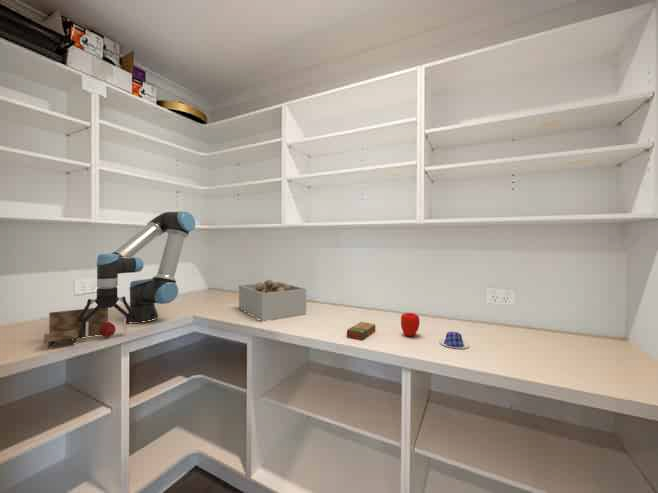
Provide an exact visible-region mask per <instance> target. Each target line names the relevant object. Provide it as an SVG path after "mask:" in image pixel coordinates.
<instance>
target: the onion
mask: <svg viewBox="0 0 658 493" xmlns="http://www.w3.org/2000/svg"><path fill="white" fill-rule="evenodd" d="M115 332H116V326H115V325H114V324H113V323H111V322H110V321H109V320H108V321H106V322H105V324H103V325H102V326H101V327H100V330H99V333H100V335H102V337H103V338H105V339H108V338H107V337H109V338H110V337H111V336H113V335H114V334H115Z"/></svg>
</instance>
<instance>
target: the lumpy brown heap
mask: <svg viewBox="0 0 658 493" xmlns="http://www.w3.org/2000/svg"><path fill="white" fill-rule="evenodd" d="M276 282H277V281H273V280H272V279H267V280H264V281H263V282H256V283H255V284H256V285H255V289H256V290H257V291H259V292H262V290H264V288H265V286H266V288H265V289H266V290H265V293H269V292H276V289H277V292H278V291H288V290H291V287H290V285H291V284H289V285H287V284H288V283H285V284H286V285H284V287H283V288H282V287H279V286H278V284H277V283H276ZM264 284H265V286H264ZM271 288H272V290H271ZM262 293H263V292H262Z"/></svg>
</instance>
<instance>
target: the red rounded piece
mask: <svg viewBox="0 0 658 493" xmlns="http://www.w3.org/2000/svg"><path fill="white" fill-rule="evenodd" d="M400 325H401V330H402V332H403V334H404V336H406V337H413V336H415V335H416V334H417V332H418V331H419V328H420V316H419V315H418V314H417V313H412V312H406V313H402V314H401V316H400Z"/></svg>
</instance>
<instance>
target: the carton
mask: <svg viewBox="0 0 658 493" xmlns="http://www.w3.org/2000/svg"><path fill="white" fill-rule="evenodd" d="M375 332H376V324H375V323H370V322H365V321H360V322H358V323H356V324H355V325H353V326H351V327H349V328H348V329H347V330H346V338H347V339H352V340H357V341H364V340H366V339H367V338H369V337H370V336H371V335H373V334H374V333H375Z"/></svg>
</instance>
